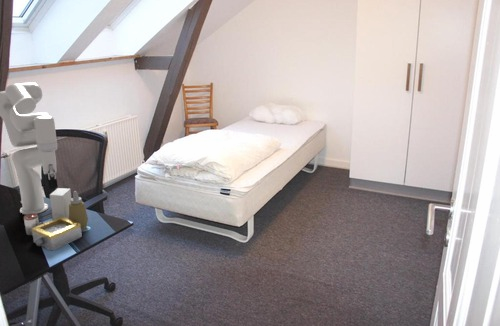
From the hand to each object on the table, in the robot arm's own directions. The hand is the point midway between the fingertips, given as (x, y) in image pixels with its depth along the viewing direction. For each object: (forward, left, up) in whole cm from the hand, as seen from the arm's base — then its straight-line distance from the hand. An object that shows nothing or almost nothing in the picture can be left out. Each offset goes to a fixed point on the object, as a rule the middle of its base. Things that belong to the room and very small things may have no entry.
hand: (52, 184), depth 169 cm
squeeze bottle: (+3, +8, -24) cm, 25 cm away
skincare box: (-8, +8, -24) cm, 26 cm away
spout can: (-10, -5, -23) cm, 26 cm away
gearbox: (+5, -4, -23) cm, 24 cm away
